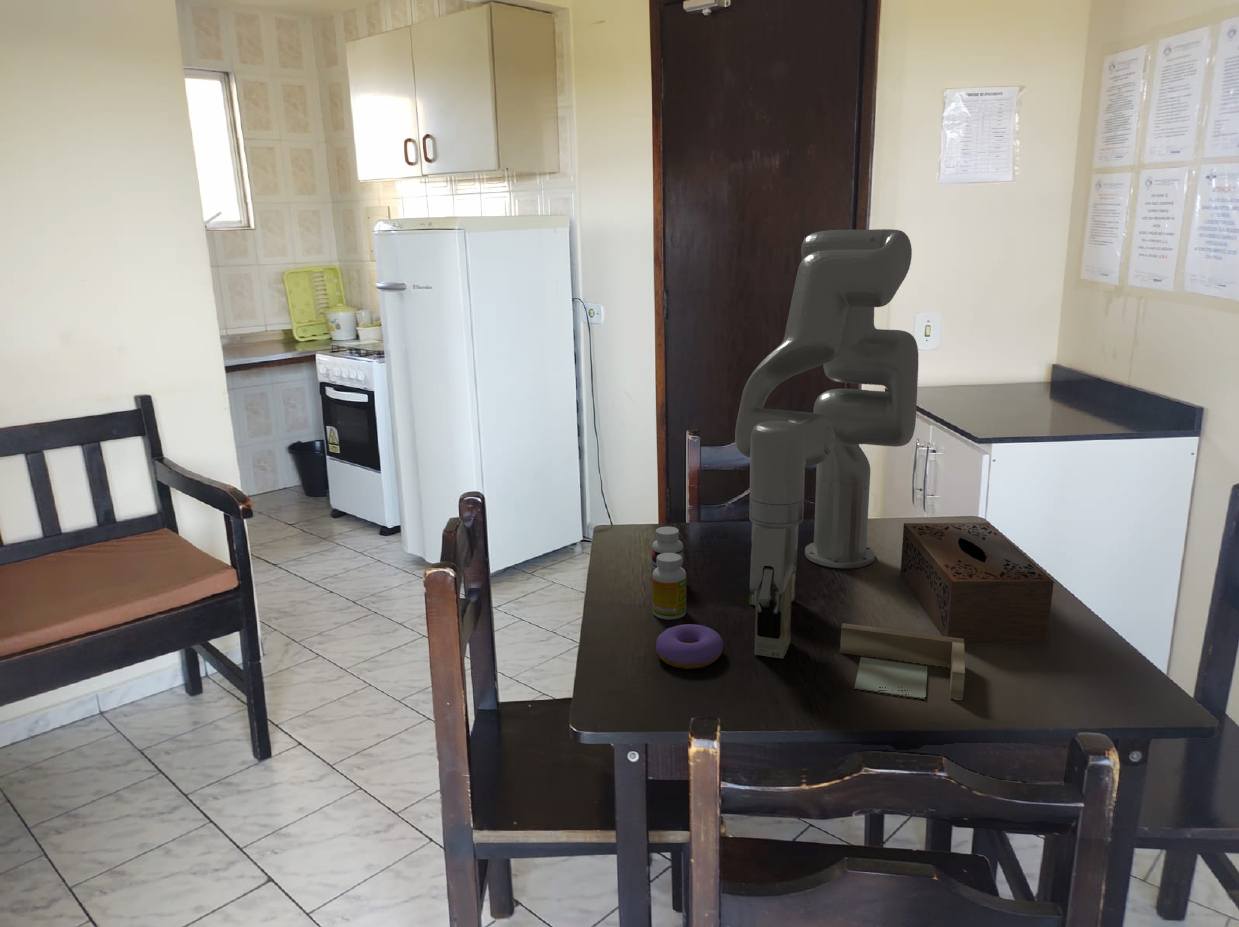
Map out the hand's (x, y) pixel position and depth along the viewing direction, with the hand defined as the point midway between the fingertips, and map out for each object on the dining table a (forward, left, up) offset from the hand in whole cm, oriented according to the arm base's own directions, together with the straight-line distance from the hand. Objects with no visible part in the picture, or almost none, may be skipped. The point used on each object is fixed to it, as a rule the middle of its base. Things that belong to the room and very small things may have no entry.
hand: (773, 625), depth 128 cm
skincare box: (0, 0, -4) cm, 4 cm away
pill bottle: (-19, -22, -4) cm, 29 cm away
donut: (+6, -11, -4) cm, 13 cm away
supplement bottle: (-7, -18, -4) cm, 20 cm away
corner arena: (+3, +18, -4) cm, 18 cm away
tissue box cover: (-24, +27, -4) cm, 36 cm away
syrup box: (-16, -3, -4) cm, 17 cm away
